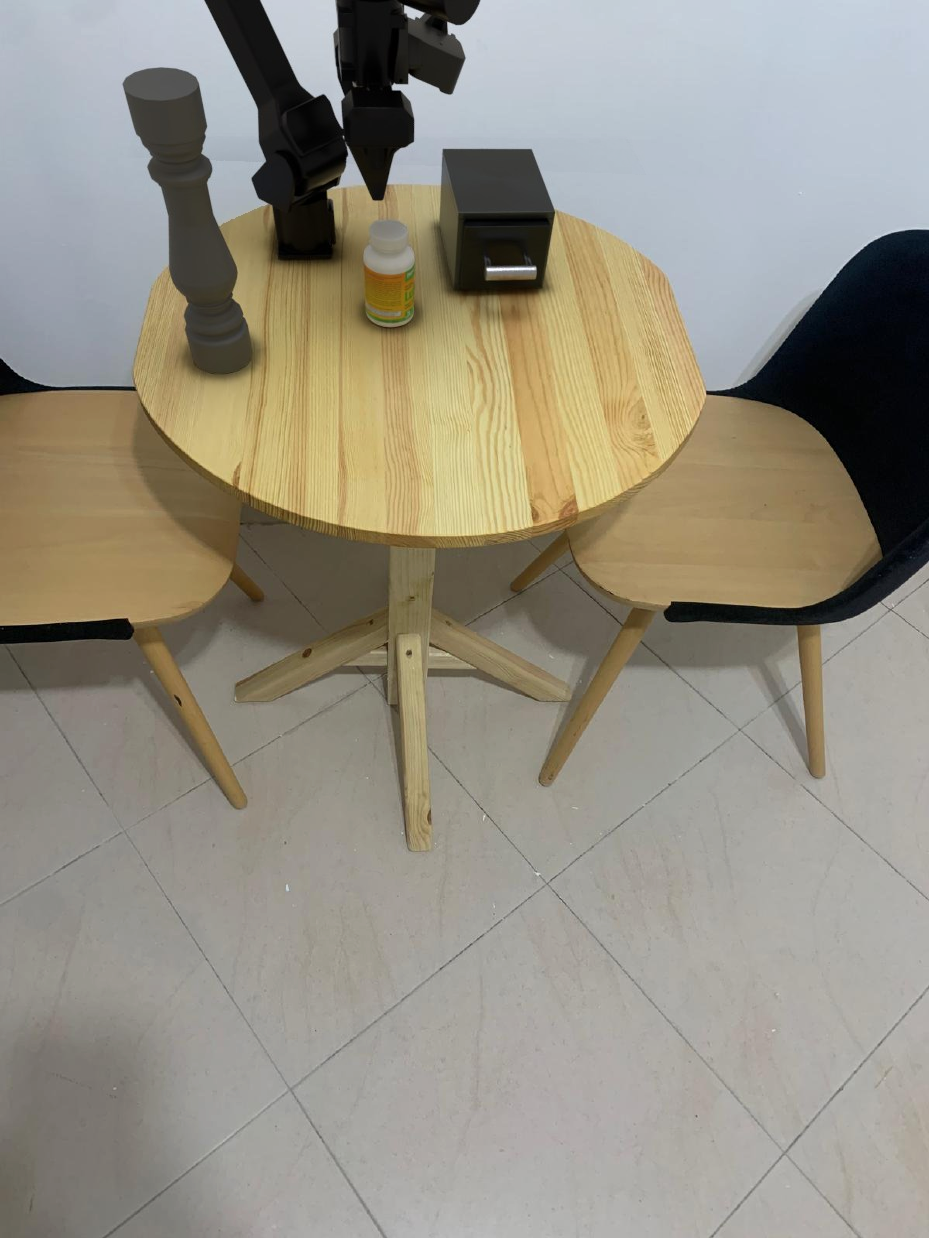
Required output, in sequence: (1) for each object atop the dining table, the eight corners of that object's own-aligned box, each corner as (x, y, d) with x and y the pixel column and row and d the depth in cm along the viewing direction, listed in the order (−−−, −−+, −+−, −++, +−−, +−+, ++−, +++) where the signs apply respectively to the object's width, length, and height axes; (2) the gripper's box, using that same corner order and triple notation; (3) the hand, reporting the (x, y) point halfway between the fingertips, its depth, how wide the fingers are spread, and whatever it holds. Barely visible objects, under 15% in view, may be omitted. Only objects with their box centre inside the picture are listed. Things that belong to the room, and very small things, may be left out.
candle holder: (192, 376, 78) (116, 103, 57) (191, 337, 81) (120, 66, 61) (254, 371, 79) (202, 102, 58) (251, 334, 82) (201, 65, 62)
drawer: (547, 309, 87) (559, 247, 81) (465, 311, 86) (470, 249, 80) (521, 227, 96) (529, 166, 90) (446, 228, 95) (449, 166, 89)
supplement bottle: (412, 330, 85) (414, 246, 77) (363, 327, 84) (359, 242, 76) (415, 301, 88) (416, 216, 80) (367, 297, 87) (364, 212, 79)
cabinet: (542, 288, 91) (555, 211, 83) (453, 290, 89) (458, 212, 82) (521, 224, 98) (531, 148, 91) (439, 225, 97) (442, 148, 89)
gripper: (477, 36, 62) (464, 225, 75) (447, -48, 72) (440, 132, 85) (338, 33, 61) (349, 226, 74) (327, -52, 71) (339, 131, 84)
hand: (374, 176), depth 79 cm, fingers open, 9 cm apart
